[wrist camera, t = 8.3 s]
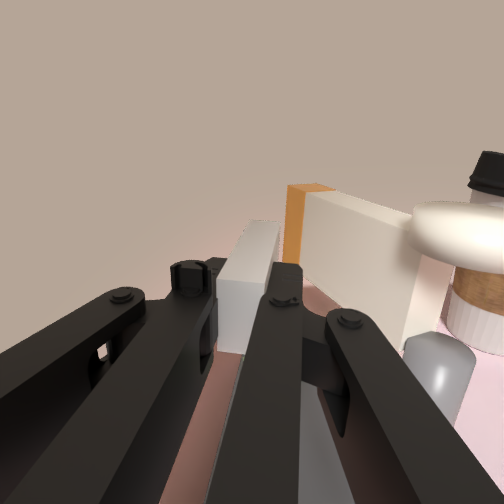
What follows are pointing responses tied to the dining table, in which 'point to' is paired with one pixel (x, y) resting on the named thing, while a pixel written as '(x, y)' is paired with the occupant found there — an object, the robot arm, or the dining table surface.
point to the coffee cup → (481, 273)
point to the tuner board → (311, 453)
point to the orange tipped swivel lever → (397, 271)
